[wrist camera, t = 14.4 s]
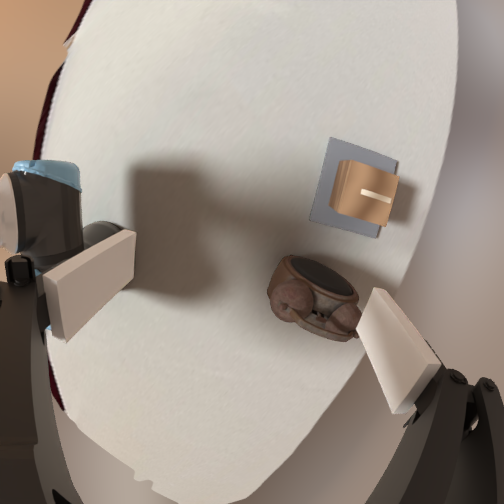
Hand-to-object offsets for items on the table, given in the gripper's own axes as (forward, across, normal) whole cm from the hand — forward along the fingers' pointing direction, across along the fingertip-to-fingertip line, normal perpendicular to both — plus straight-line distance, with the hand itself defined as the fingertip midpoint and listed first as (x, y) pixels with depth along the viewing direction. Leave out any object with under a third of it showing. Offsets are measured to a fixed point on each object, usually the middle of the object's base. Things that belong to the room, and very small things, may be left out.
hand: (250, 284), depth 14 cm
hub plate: (+35, +15, +6) cm, 38 cm away
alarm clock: (+35, +11, -11) cm, 38 cm away
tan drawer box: (+34, +15, +6) cm, 37 cm away
